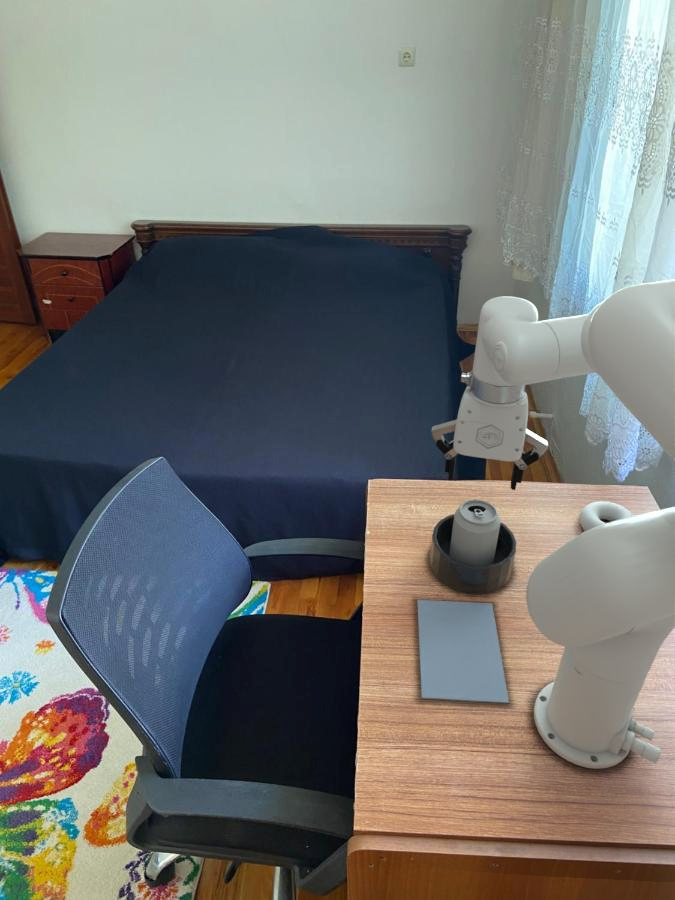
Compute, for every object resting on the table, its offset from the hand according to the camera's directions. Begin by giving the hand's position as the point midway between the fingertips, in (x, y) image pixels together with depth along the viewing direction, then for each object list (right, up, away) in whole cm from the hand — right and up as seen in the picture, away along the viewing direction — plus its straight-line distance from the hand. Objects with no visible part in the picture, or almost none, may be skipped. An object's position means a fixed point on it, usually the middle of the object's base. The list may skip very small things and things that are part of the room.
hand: (481, 479), depth 101 cm
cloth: (-4, -25, -4) cm, 26 cm away
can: (0, -15, +10) cm, 18 cm away
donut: (+27, -10, +18) cm, 34 cm away
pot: (0, -15, +10) cm, 18 cm away
